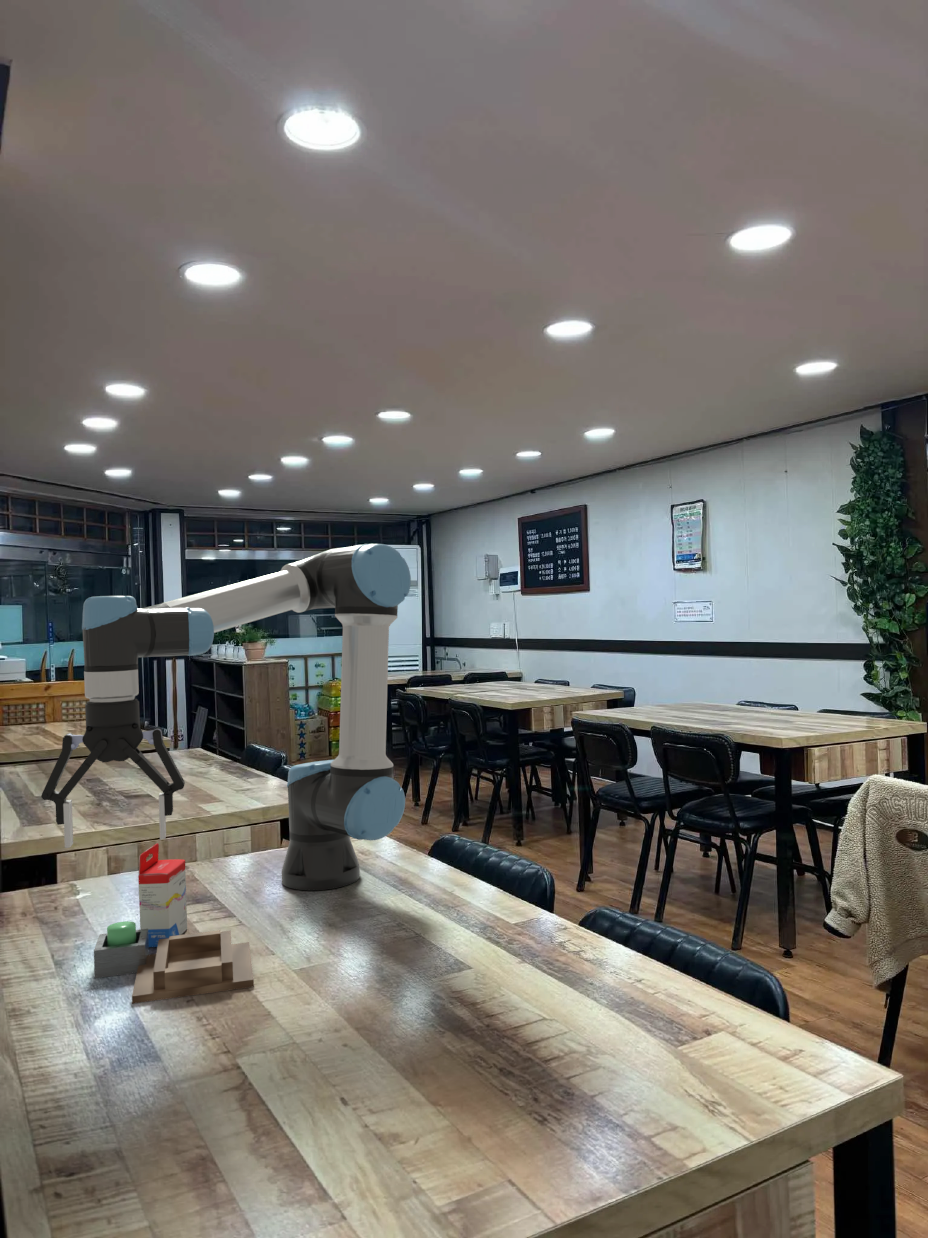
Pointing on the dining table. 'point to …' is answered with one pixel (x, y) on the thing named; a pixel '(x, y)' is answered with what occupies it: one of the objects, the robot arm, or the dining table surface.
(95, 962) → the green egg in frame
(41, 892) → the dining table surface
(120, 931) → the button
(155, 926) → the ink box
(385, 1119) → the dining table surface
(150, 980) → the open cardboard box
